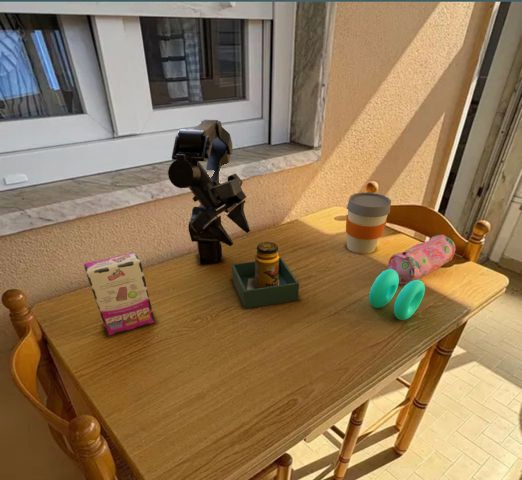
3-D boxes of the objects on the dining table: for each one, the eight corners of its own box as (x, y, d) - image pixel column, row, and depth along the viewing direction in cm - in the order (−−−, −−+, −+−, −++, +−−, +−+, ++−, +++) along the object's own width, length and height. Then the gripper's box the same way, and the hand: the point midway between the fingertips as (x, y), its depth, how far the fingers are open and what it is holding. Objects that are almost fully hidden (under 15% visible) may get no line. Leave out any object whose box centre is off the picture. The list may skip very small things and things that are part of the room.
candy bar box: (150, 312, 94) (136, 251, 83) (155, 323, 90) (141, 260, 80) (103, 324, 90) (82, 262, 79) (107, 336, 87) (86, 273, 76)
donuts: (384, 295, 100) (393, 261, 94) (419, 311, 95) (432, 276, 88) (363, 311, 95) (371, 275, 88) (399, 328, 90) (410, 292, 83)
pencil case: (406, 291, 102) (416, 261, 96) (379, 277, 107) (387, 247, 101) (452, 268, 111) (463, 239, 105) (425, 256, 117) (434, 228, 111)
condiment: (278, 295, 99) (280, 252, 91) (246, 294, 99) (245, 251, 91) (279, 280, 104) (281, 239, 96) (248, 279, 104) (247, 238, 96)
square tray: (244, 308, 95) (244, 291, 92) (232, 280, 106) (231, 263, 102) (297, 300, 98) (299, 283, 95) (280, 273, 109) (281, 257, 105)
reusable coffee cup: (385, 256, 117) (397, 207, 107) (344, 256, 117) (352, 207, 107) (376, 238, 126) (386, 192, 116) (338, 238, 126) (345, 191, 116)
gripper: (199, 174, 81) (244, 235, 85) (240, 155, 94) (277, 209, 98) (172, 204, 89) (214, 258, 92) (213, 183, 102) (249, 232, 105)
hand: (240, 238), depth 97 cm, fingers open, 9 cm apart
